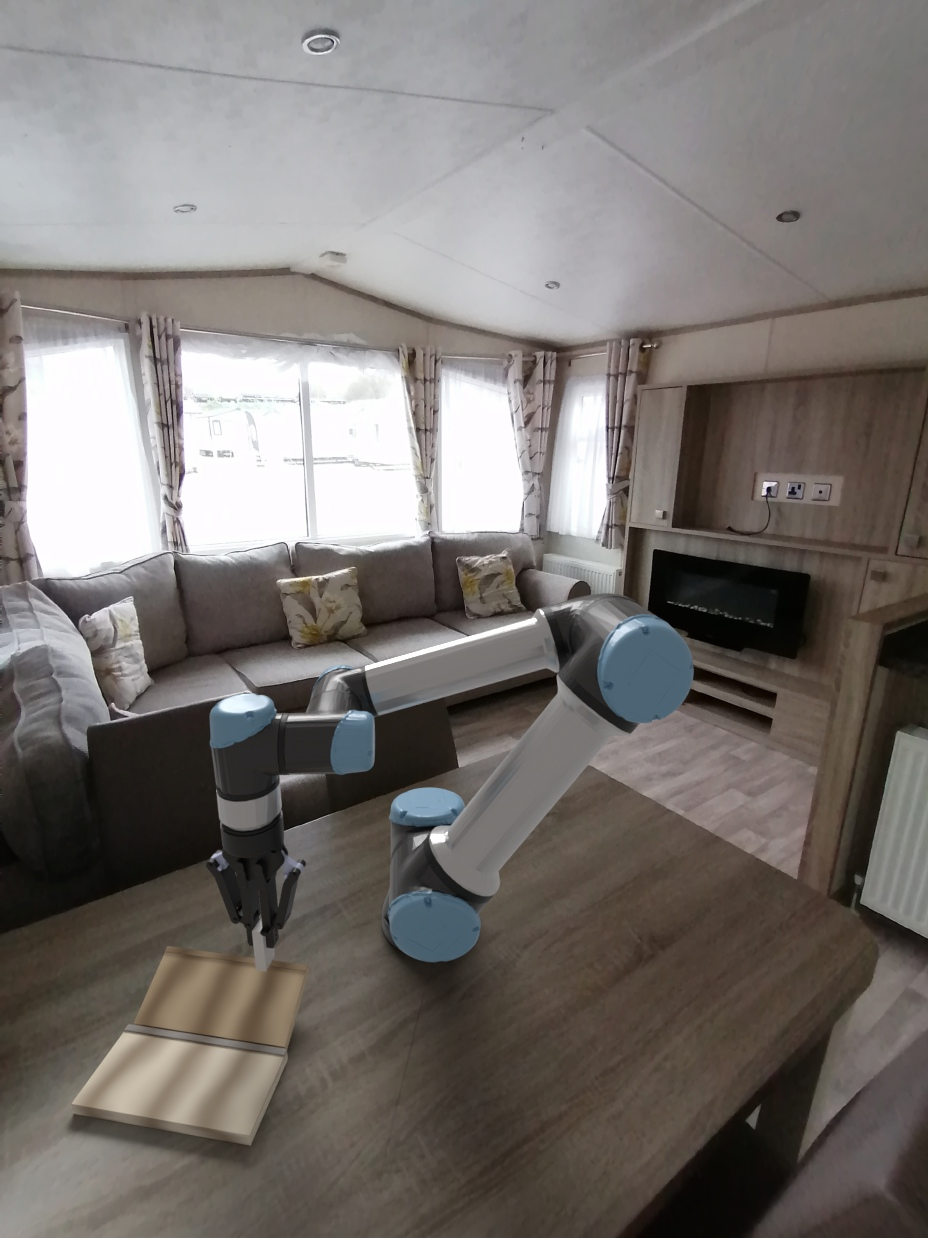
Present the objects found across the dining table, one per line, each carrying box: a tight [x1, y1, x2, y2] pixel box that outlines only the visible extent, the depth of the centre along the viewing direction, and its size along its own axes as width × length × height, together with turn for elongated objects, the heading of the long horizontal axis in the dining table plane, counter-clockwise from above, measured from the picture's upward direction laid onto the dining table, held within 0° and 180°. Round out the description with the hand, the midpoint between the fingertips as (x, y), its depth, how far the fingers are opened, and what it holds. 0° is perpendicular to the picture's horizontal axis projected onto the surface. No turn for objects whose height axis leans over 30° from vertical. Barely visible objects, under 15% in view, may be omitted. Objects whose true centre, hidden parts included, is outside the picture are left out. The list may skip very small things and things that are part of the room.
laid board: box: [71, 1023, 289, 1146], centre depth 74 cm, size 22×10×2 cm, turn 82°
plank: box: [133, 945, 311, 1050], centre depth 83 cm, size 21×10×2 cm, turn 82°
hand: (265, 962), depth 84 cm, fingers closed
